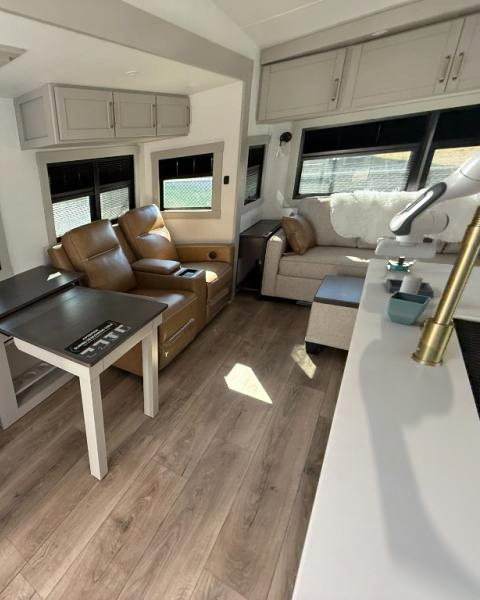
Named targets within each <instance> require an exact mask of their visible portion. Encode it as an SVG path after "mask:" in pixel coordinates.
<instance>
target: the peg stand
mask: <svg viewBox="0 0 480 600" xmlns="http://www.w3.org/2000/svg"><path fill="white" fill-rule="evenodd" d="M405 260H406V257H398V260H397V262H398V263H397V265H403V263H405ZM389 266H390V265H387V268H388V270H389V271H396V272H400V271H399V270H393V269H390V268H389ZM405 272H407V273H410V272H411V271H410V269H409V268H408V270H406V271H405Z"/></svg>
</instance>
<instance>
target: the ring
mask: <svg viewBox="0 0 480 600" xmlns="http://www.w3.org/2000/svg"><path fill="white" fill-rule="evenodd" d="M397 263H398V261H392V263H391V265H388V266H389V268H390V269H393V270H392V271H394V270H399V271H398V272H406V270H408V269H409V268H410V267H409V266H410V265H409V263H407V262H404V263H403V265H397ZM389 268H388V269H389Z"/></svg>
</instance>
